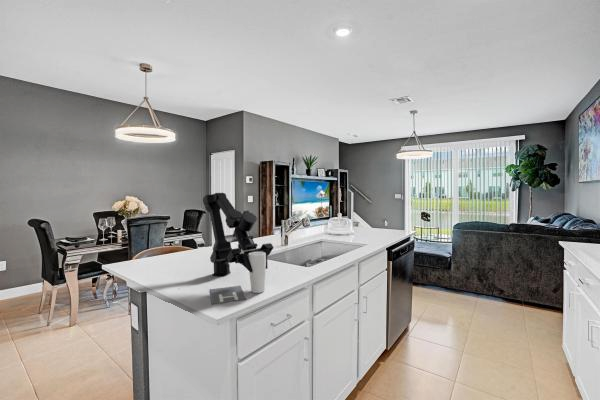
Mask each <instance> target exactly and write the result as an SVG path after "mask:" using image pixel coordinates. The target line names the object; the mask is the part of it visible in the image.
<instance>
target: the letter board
mask: <svg viewBox="0 0 600 400" xmlns="http://www.w3.org/2000/svg"><path fill="white" fill-rule="evenodd" d="M209 292H210V299H211V300H210V301H211V305H219V304H225V303H226V304H227V303H233V302H238V301H246V300H247V297H246V295H245V293H244V290H243V288H242V286H241V285H235V286H233V285H232V286H225V287H219V288H218V287H217V288H210V289H209Z"/></svg>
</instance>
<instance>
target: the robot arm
mask: <svg viewBox="0 0 600 400" xmlns="http://www.w3.org/2000/svg"><path fill="white" fill-rule="evenodd" d="M202 204H203V205H204V208H205V210H206V211H207V212H208V213H209V216H210V221H211V226H212V233H213V238H214V245H213V246H212V253H211V254H210V258H209V259H210V262H211V263H212V264H213V273H212V274H211V275H212V276H217V277H224V276H226V275H229V274H230V273H232V272H231V269H230V267H231V265H230V264H232V263H234V264H240V265H242V266H243V267H244V268H245V269H246V270H247V271H248V272H249V271H250V272H252V267H251V264H250V262H249V259H248V255H249V253H251V252H265V253H266V270H268V256H269V255H270V254H271V253H272V252H273V249H274V246H273V244H272V243H271V242H270V243H269V242H268V243H262V245H261V246H260V248H258V243H255V241H254V235H251V233H250V232H251V230H252V229H253V228H254V226H255V223H257V220H258V217H257V215H256V214H254V213H252V212H250V211H249V210H243V213H242V212H241V211H239V210H236V208H235V207H234V206H233V204H232V203H231V202H230V200H229V199H228V197H227V194H226V193H225V192H215V193H212V194H205V196H204V197H203V198H202ZM221 211H222V213H223V215H224V216H225V220H224V221H225V224H226V226H227V227H228V228H229V229H234V230H233V233H232V237H233V238H236V241H237V243H238V244H237V248H232V245H231V244H232V243H231V242H230V241H228V240H227V239H226V235H225V231H224V225H223V220H222V216H221V215H222V214H221Z"/></svg>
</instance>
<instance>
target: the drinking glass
mask: <svg viewBox="0 0 600 400" xmlns="http://www.w3.org/2000/svg"><path fill="white" fill-rule="evenodd" d="M248 259H249V262H250V264H251V267H252V272H250V271H249V270H248V272H249V280H250V292H251V293H254V294H260V293H263V292H265V290H266V288H265V287H266V286H265V285H266V273H267V272H266V271H267V269H266V253H265V252H251V253H249V255H248Z"/></svg>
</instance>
